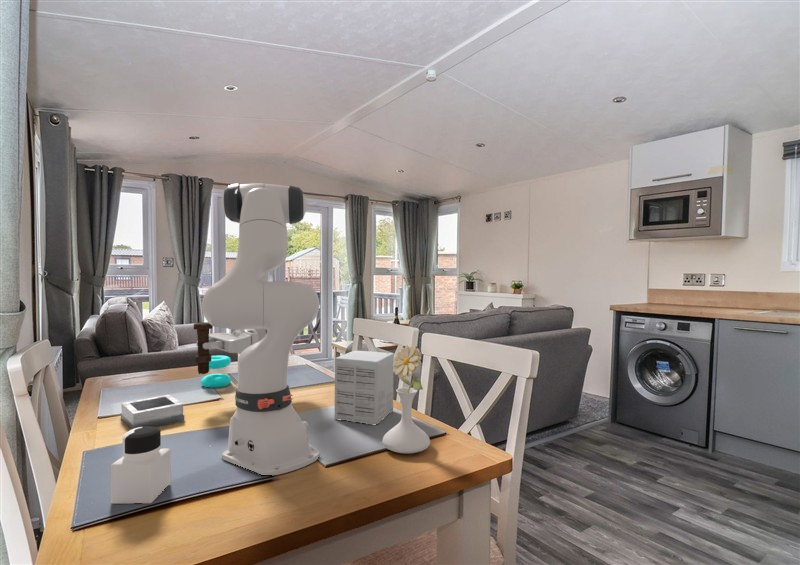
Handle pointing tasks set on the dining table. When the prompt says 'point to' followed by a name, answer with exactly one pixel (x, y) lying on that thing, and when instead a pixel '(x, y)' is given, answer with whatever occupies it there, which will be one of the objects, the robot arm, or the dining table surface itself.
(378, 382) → the supplement box
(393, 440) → the flower in vase
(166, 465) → the medicine bottle
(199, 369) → the bolt
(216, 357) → the donuts
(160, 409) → the docking socket
